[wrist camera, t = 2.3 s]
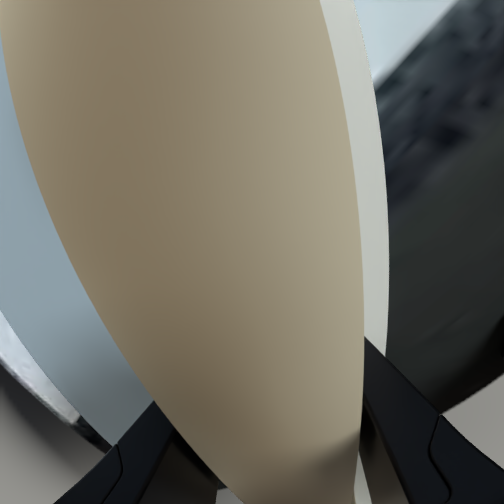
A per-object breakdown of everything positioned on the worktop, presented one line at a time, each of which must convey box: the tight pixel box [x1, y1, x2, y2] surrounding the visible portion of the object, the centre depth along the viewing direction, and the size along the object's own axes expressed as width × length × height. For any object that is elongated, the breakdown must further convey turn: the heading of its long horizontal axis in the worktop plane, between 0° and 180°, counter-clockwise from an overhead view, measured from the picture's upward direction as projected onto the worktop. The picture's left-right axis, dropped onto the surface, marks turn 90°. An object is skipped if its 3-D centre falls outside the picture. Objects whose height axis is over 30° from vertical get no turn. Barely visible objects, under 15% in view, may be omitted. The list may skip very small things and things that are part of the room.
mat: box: [0, 32, 154, 446], centre depth 13 cm, size 10×30×1 cm, turn 13°
